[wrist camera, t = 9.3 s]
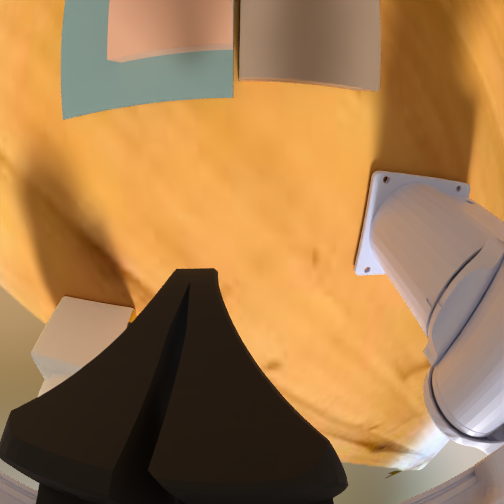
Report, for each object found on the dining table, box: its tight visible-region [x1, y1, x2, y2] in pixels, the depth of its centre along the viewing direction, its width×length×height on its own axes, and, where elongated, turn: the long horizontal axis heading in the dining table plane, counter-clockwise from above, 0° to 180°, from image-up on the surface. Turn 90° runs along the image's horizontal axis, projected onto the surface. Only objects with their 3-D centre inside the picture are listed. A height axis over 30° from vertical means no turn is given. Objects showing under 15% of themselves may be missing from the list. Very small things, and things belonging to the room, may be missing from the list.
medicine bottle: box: [31, 296, 136, 397], centre depth 18 cm, size 7×7×12 cm
